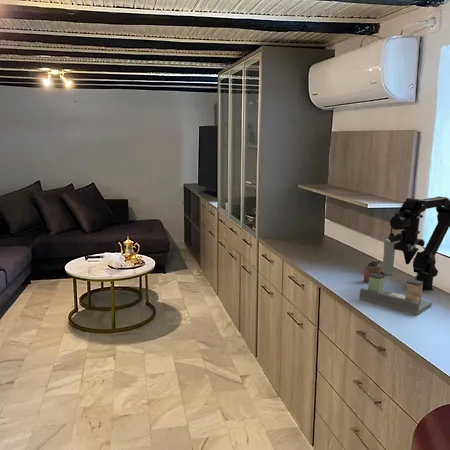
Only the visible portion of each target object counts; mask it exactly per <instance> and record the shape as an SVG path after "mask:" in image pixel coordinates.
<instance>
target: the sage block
mask: <svg viewBox="0 0 450 450" xmlns="http://www.w3.org/2000/svg"><path fill="white" fill-rule="evenodd" d="M384 282H385V274H381V273H380V274H377V273H372V274H369V283H367V284H368V285H367V290H371V291H375V292H379V293H383V290H384V285H385V283H384Z"/></svg>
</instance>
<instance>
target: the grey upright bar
mask: <svg viewBox="0 0 450 450" xmlns="http://www.w3.org/2000/svg"><path fill="white" fill-rule="evenodd" d="M390 233H393V228H392V227H391V226H390ZM383 241H384V242H383V258H382V265H381V271H380V273H383V275H387V276H389V275H390V276H391V275H394V274H393V273H394V263H395V262H394V261H395V253H396V250H395V249H393V247H394V244H395V243H397V241H396V242H393V243H391V242H390V240H389V239H388V238H384V240H383Z"/></svg>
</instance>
